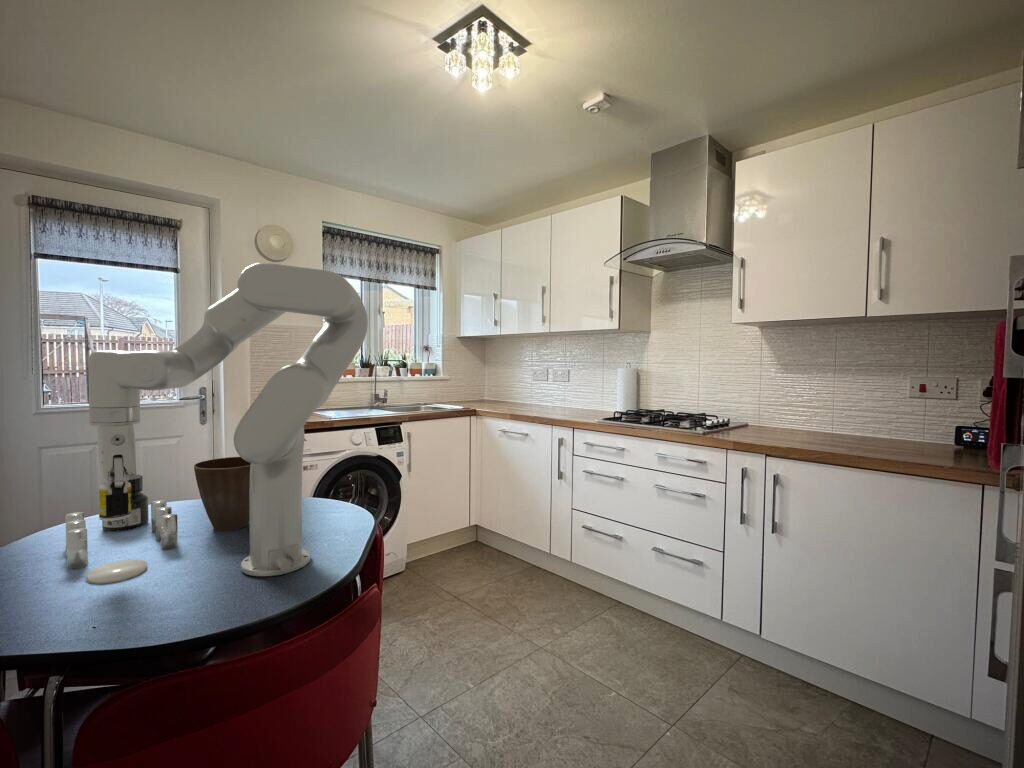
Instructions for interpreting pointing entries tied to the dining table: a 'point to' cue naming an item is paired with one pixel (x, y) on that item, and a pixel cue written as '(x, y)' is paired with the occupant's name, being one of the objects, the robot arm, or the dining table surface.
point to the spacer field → (160, 524)
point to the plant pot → (225, 491)
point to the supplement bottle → (102, 501)
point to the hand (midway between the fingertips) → (115, 510)
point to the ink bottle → (132, 509)
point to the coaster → (116, 571)
